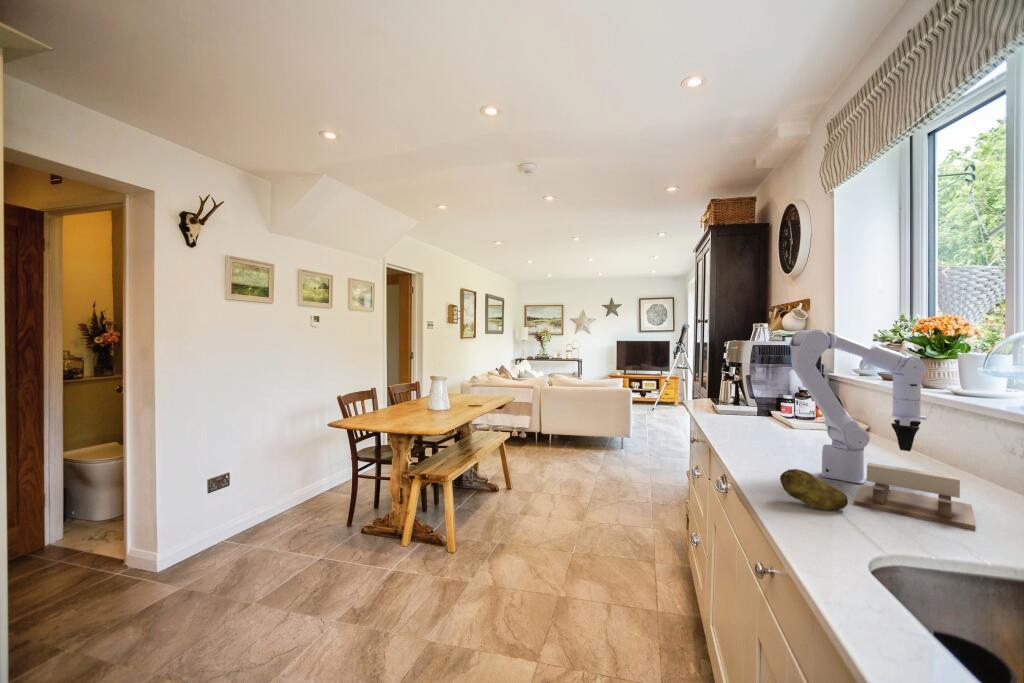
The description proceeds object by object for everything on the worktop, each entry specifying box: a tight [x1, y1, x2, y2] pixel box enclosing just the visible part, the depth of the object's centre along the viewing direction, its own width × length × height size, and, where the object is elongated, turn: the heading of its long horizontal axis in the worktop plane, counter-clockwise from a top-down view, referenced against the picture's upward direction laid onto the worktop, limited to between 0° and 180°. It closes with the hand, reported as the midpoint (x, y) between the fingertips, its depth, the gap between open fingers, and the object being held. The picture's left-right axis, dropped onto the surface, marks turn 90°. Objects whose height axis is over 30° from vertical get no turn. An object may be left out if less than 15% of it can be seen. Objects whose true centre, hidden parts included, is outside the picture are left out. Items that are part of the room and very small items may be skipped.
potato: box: [779, 468, 849, 511], centre depth 103 cm, size 8×13×8 cm, turn 40°
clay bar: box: [866, 462, 961, 499], centre depth 102 cm, size 16×3×4 cm, turn 45°
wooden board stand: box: [853, 482, 976, 531], centre depth 102 cm, size 20×16×4 cm
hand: (906, 447), depth 120 cm, fingers open, 7 cm apart
